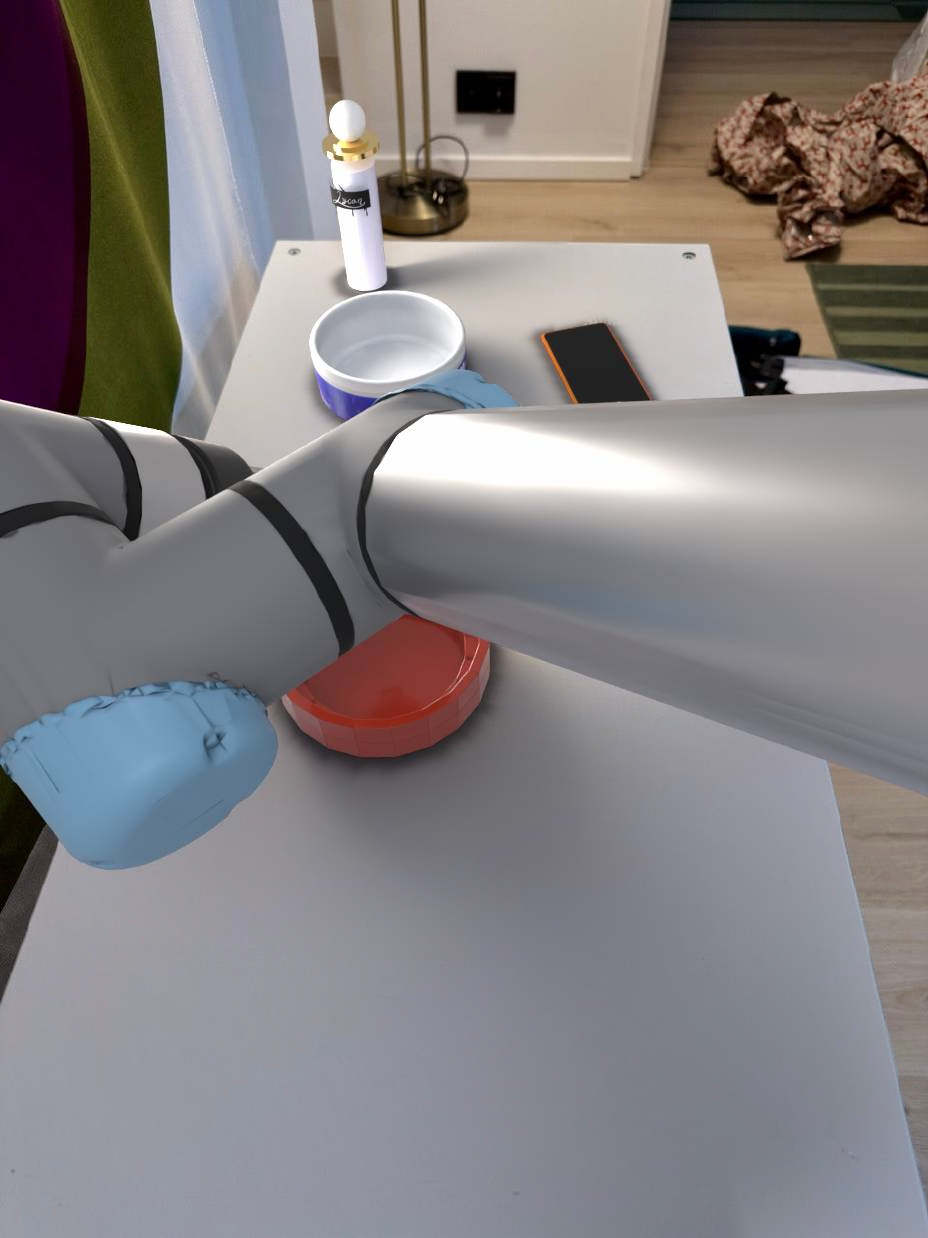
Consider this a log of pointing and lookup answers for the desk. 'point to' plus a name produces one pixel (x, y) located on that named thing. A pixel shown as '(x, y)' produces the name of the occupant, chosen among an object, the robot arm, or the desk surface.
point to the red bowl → (394, 690)
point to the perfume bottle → (356, 195)
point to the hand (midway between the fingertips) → (400, 535)
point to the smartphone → (594, 365)
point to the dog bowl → (383, 347)
